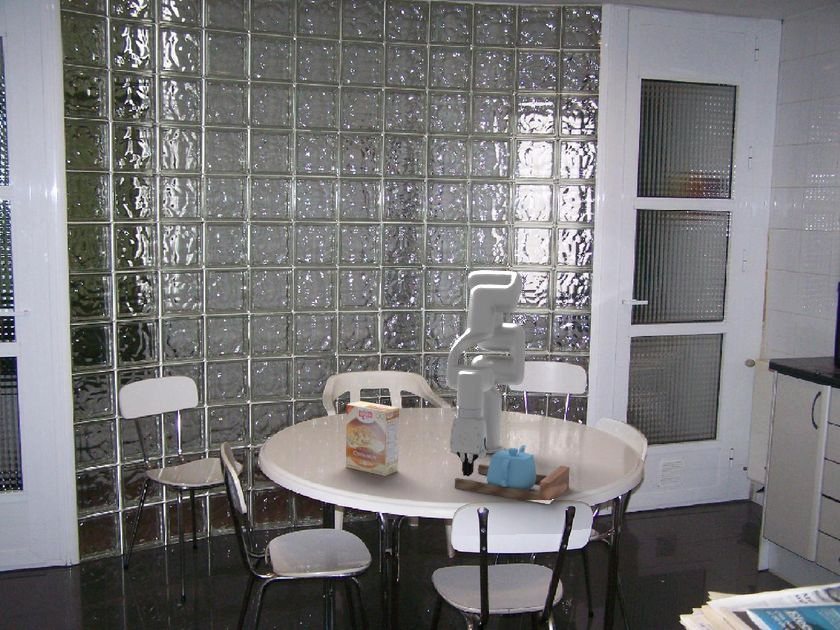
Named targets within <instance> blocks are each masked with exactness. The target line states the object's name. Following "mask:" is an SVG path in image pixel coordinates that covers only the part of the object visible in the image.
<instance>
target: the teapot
mask: <svg viewBox="0 0 840 630" xmlns="http://www.w3.org/2000/svg"><path fill="white" fill-rule="evenodd" d="M526 447H527V446H526V445H525V444H523V445H521V446H520V447H519V449H518V448H516V447H510V448H508V450H500V451H498V452H496V453H492V454H491V455H492V456H491V458H490V462H489V468H488V474H487V476H486V483H488V484H494V485H499V486H502V487H510V488H516V489H522V490H527V491H531V489H532V488H533V487H534V486H535V484H536V483H535V482H536V474H537V467H536V461H535V457H534V455H533V454H532V453H527V452H525V450H526Z"/></svg>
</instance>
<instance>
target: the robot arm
mask: <svg viewBox="0 0 840 630" xmlns="http://www.w3.org/2000/svg"><path fill="white" fill-rule="evenodd" d="M467 284H468V285H467V286H468V288H469V290H470V294H469V298H468V299H469V301H468V307H467V318H466V325H465V326H466V327H465V332H464V333H463V334H462V335H461V336H460V337H458V339H457V340H456V341H455V342H454V343H453V345H452V346H451V349H450V351H449V352H448V357H447V363H446V372H445V382H446V386H448V387H449V389H452V390H455V391H456V406H453V407H452V410H451V411H452V412H455V415H454V416H453V418H452V421H451V429H450V432H449V433H450V434H449V435H450V436H449V449H450V453H452V454H454V455H457V456H458V458H459V459H460V461H461V463H462V465H461V472H462V476H463V477H471V476H472V474H473V473H474V470H475V467H474V465H475V461H476V460H477V459H482V458H483V459H484V458H485V457H487V454H495V453H496V452H498V451H500V450H505V447H506V446H505V445H504V444H503V443H501V433H502V432H501V427H502V403H503V401H502V399H503V397H502V395H501V393H500V391H499V390H498V388H497V387H496V385H497V386H498V385H503V386H504V385H506V386H519V385H521V384H523V382H524V378H525V365H526V363H525V362H526V331H525V329H524V327H523V326H522V324H519V323H516V322H515V323H513V322H505V321H504V313H505V314H507V313H508V314H510V313H513V312H515V311H516V308H517V307H518V304H519V302H520V301H519V300H520V296H521V294H522V290H523V279H522V275H521V274H520V273H519V272H517V271H510V270H507V271H506V270H487V269H486V270H481V269H480V270H474V271H472V272H470V273H469V274H468V277H467ZM476 345H477V347H478V349H480V350H483V351H487V352H499V353H500V352H501V353H502V352H503V353H504V352H505V353H509V354H510V355H500V354H499V355H498V354H497V355H496V354H481V355H479V354H478V355H477V356H474V358H473V359H472V361H471V363H470V365H469V364H458V362H459V358H460V356H461V355H462V353H463V352H464V351H466V350H467V349H469V348H470V347H472V346H476Z"/></svg>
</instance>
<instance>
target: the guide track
mask: <svg viewBox="0 0 840 630" xmlns="http://www.w3.org/2000/svg"><path fill="white" fill-rule="evenodd" d="M489 465H490V464H489ZM489 465H487V464H481V463H479V464H478V465H477V467H478V468H477V469H478V470H477V471H478V472H477V473H478V474H482V475H487V474H488V468H489ZM535 484H539V486H540V487H539V492H538V491H532V490H529V491H527V490H522V489H516V488H510V487H502V486H499V485H494V484H488V483H487V482H482V481H477V480H472V479H471V480H470V479H464V478H461V477H460V478H459V477H456V478H454V488H456V489H460V490H466V491H471V492H477V493H482V494H485V495H486V494H487V495H493V496H498V497H503V498H509V499H515V500H520V501H524V500H552V499H555V500H556V499H557V498H559V496H561V495H562V494H563V493H564V492H565V491H567V490H568V489H569V488H570V487H569V485H570V466H565V465H560V466H558V467H557V468H556V469H555V470H553V471H552V472H550V474H547V475H546V474H541V473H536V482H535Z"/></svg>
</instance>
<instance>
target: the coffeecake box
mask: <svg viewBox="0 0 840 630" xmlns="http://www.w3.org/2000/svg"><path fill="white" fill-rule="evenodd" d="M345 430H346V431H345V432H346V433H345V435H346V437H345V438H346V439H345V467H346V468H347V469H353V470H357V471H361V472H366V473H370V474H374V475H378V476H383V477H386V476H390V475H391V474H393V473H396V472H398V471H399V444H400V443H399V442H400V441H399V434H400V407H397V406H392V405H391V406H390V405H386V404H379V403H373V402H368V401H362V400H359V401H354V402H349V403H346V429H345Z"/></svg>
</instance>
